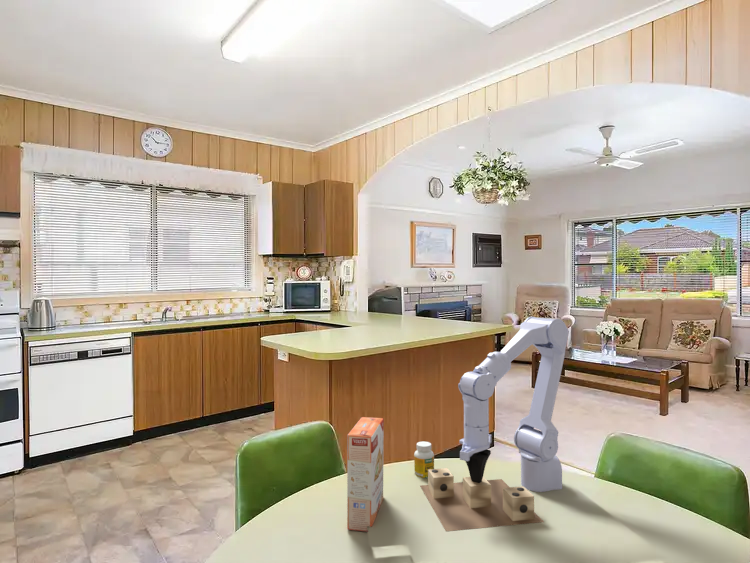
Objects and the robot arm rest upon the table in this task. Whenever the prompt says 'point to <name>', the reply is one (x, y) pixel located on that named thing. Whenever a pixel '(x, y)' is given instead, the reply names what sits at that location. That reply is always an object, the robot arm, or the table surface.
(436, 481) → the pip cube
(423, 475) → the supplement bottle
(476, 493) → the blank cube
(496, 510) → the walnut board
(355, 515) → the cracker box
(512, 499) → the pip cube 2
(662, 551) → the table surface
